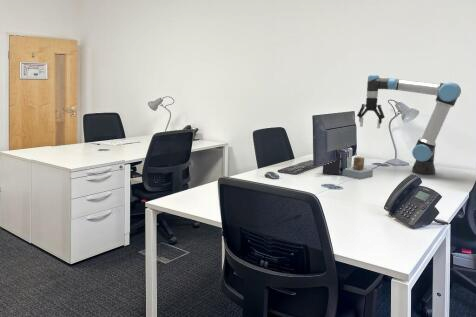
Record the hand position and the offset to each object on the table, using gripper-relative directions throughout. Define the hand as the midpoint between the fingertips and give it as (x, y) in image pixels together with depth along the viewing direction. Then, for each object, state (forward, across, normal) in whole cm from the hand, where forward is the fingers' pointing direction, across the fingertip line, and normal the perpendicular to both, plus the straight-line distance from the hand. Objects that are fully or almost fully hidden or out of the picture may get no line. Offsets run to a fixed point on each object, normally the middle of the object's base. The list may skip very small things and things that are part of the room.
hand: (369, 127), depth 296 cm
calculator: (+31, -7, -35) cm, 47 cm away
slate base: (+31, +8, -26) cm, 42 cm away
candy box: (+31, -11, -13) cm, 35 cm away
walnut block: (+26, +8, -26) cm, 38 cm away
